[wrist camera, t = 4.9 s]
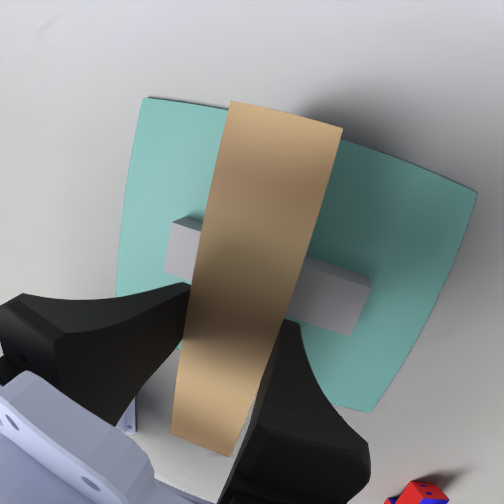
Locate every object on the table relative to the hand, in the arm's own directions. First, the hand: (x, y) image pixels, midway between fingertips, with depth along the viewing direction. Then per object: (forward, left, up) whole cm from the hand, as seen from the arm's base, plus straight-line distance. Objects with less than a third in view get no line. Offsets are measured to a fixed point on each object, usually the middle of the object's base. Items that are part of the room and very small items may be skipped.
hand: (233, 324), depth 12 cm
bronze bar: (0, 0, -4) cm, 4 cm away
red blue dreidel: (-18, -21, -7) cm, 29 cm away
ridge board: (0, 0, -7) cm, 7 cm away
